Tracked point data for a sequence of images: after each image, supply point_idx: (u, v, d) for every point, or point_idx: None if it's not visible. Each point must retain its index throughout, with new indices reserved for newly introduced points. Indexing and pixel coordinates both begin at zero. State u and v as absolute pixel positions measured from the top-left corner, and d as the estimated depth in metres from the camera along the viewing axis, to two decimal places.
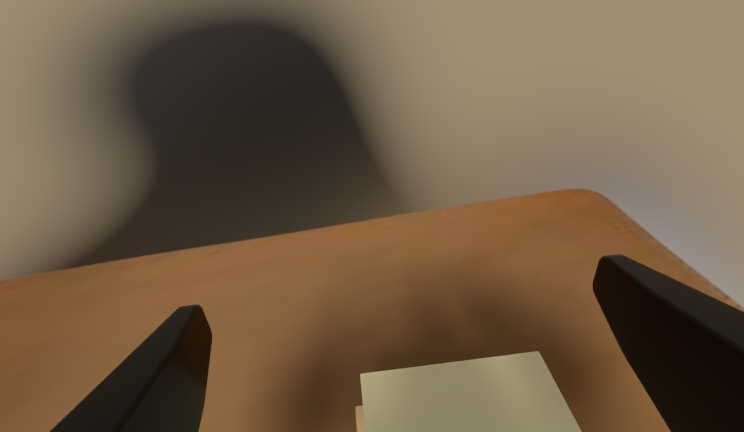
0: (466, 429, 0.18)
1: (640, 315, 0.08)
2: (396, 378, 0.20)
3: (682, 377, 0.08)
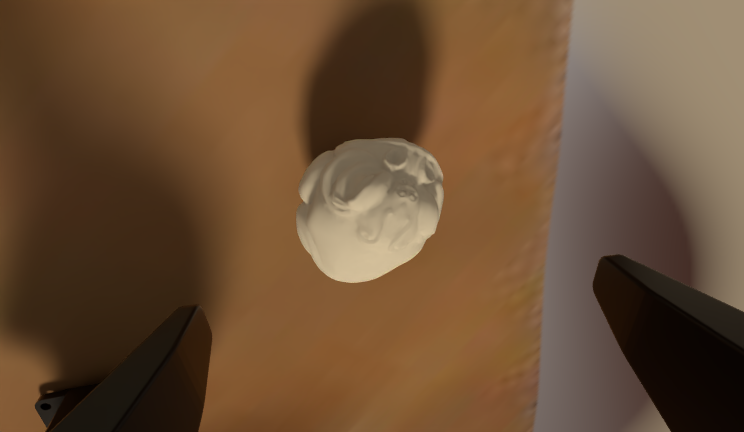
0: None
1: (640, 315, 0.08)
2: None
3: (682, 377, 0.08)
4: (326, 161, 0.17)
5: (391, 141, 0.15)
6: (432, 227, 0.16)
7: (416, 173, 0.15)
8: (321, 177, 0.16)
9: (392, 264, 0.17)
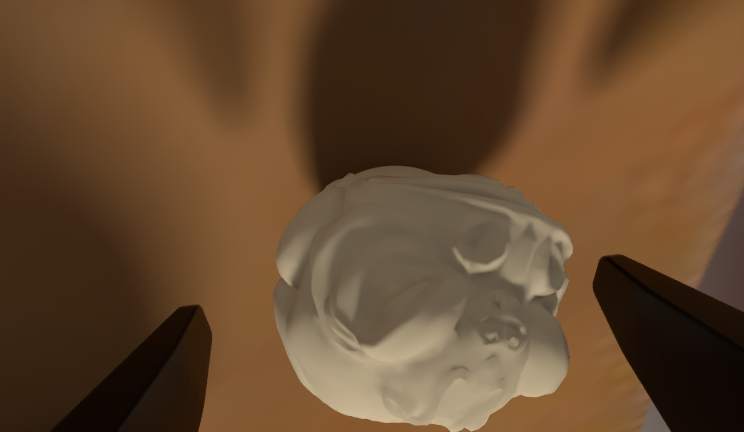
0: None
1: (640, 315, 0.08)
2: None
3: (682, 377, 0.08)
4: (325, 217, 0.08)
5: (472, 200, 0.06)
6: (549, 389, 0.07)
7: (527, 279, 0.06)
8: (312, 255, 0.08)
9: None
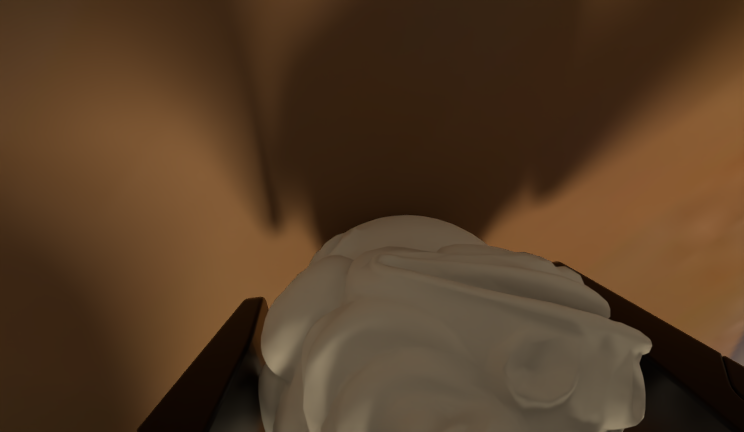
0: None
1: None
2: None
3: None
4: (322, 302, 0.06)
5: (526, 307, 0.05)
6: None
7: (601, 416, 0.05)
8: (304, 357, 0.06)
9: None
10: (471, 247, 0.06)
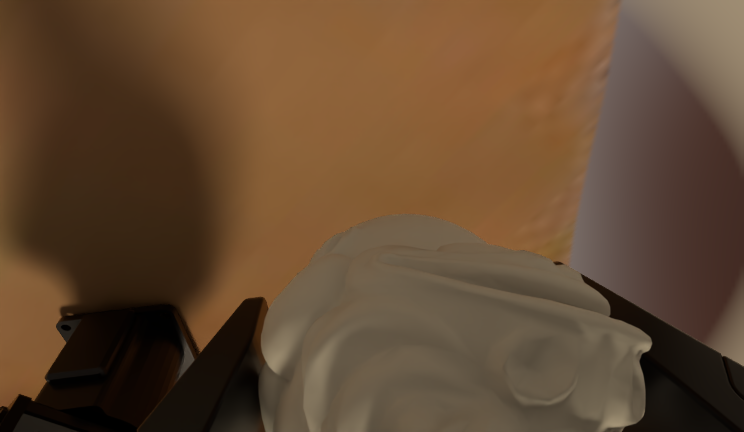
0: None
1: None
2: None
3: None
4: (322, 301, 0.06)
5: (525, 304, 0.05)
6: None
7: (601, 414, 0.05)
8: (304, 355, 0.06)
9: None
10: (471, 246, 0.06)
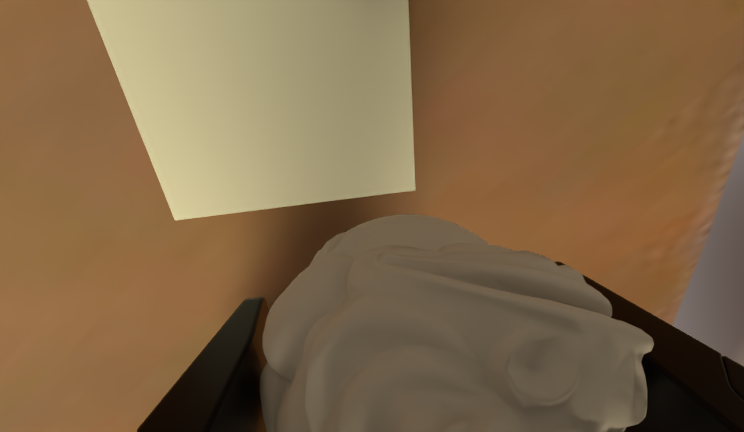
0: (256, 49, 0.13)
1: None
2: None
3: None
4: (324, 301, 0.06)
5: (527, 304, 0.05)
6: None
7: (603, 414, 0.05)
8: (306, 355, 0.06)
9: None
10: (473, 246, 0.06)
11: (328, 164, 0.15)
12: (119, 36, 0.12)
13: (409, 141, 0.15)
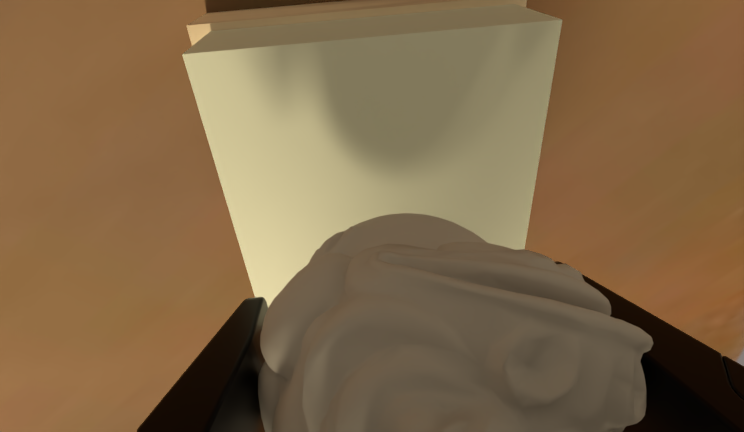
0: (377, 168, 0.12)
1: None
2: (262, 70, 0.10)
3: None
4: (322, 300, 0.06)
5: (527, 303, 0.05)
6: None
7: (601, 413, 0.05)
8: (303, 354, 0.06)
9: None
10: (471, 244, 0.06)
11: None
12: (232, 158, 0.11)
13: None
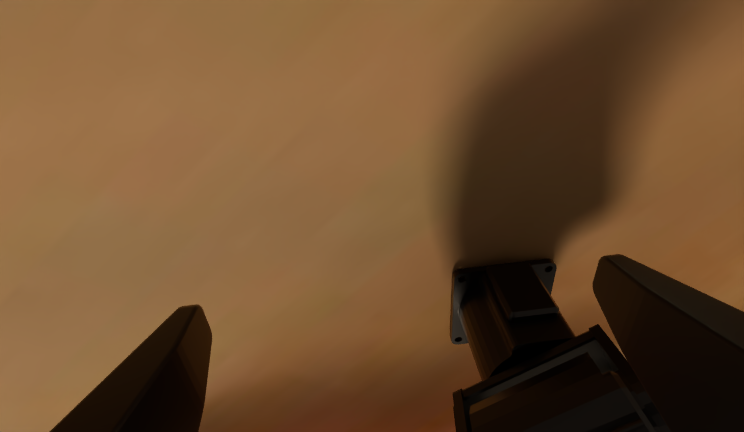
0: None
1: (640, 315, 0.08)
2: None
3: (682, 377, 0.08)
4: None
5: None
6: None
7: None
8: None
9: None
10: None
11: None
12: None
13: None
